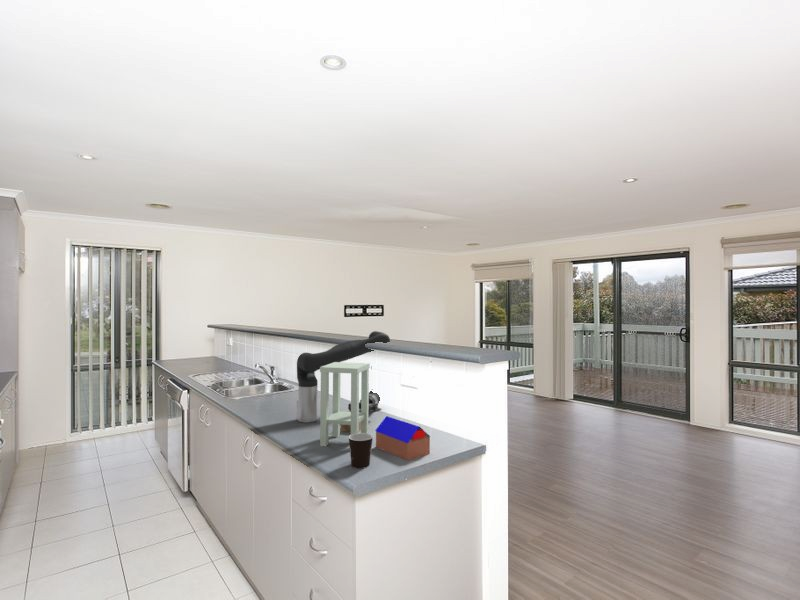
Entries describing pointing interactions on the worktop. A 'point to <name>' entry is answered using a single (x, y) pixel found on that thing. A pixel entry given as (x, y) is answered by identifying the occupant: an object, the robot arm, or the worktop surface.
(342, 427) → the cube on tan board
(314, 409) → the robot arm
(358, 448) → the dark brown cup
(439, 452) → the worktop surface
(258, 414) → the worktop surface
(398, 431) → the house
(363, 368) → the tall stand
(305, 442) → the worktop surface
